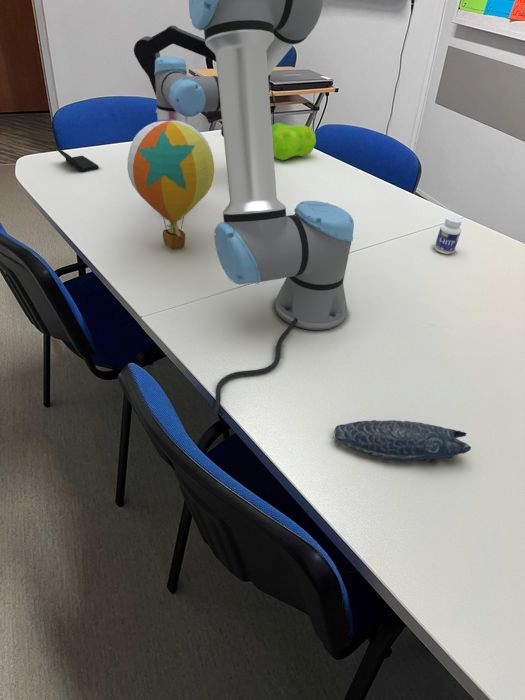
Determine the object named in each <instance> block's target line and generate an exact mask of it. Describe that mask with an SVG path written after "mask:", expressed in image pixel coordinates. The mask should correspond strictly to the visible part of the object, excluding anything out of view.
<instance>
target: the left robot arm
mask: <svg viewBox="0 0 525 700" xmlns="http://www.w3.org/2000/svg"><path fill="white" fill-rule="evenodd" d="M171 45H175V46H177V47H180V48H183V49H185V50H187V51H190V52H192V53H195V54H198V55H200V56H202V57H204V58H207V59H210V60H212V61H214V62H215V63H216V55H215V54H214V52H212V51H211V50H210V49H209V48H208V47H207V46H206V44H205V38H203V37H201V36H199V35H196V34H194V33H191V32H189V31H186V30H184V29H181V28H179V27H178V26H176V25H174V24H172V25H169V26H167V28H165V29H163V30H162V31H160V32H158V33H156V34H155V35H153V36H148V35H145V36H143V37H141V38H139V39H138V40H137V41H136V42H135V43H134V47H133V54H134V56H135V59H136V60H137V62H138V64H139V66H140V67H141V68H142V70H143V71H144V72H145V74H146V75H147V77H148V79H149V82H150V84H151V87H152V90H153V92H154V94H155V96H156V82H155V75H154V73H155V60H156V59H157V58H158V57H161V53H160V52H161V51H163V50H164V49H166V48H168V47H169V46H171ZM268 82H269V95H270V93H271V83H270V82H271V73H270V74H269V76H268ZM204 113H205V119H206V120H207V123H208V124H212V123H214V122H216V121H219V120H222V115H221V111H206V112H204ZM187 124H188V125H189V123H188V122H187ZM220 136H222V138H224V135H223V125H222V124H221V128H220Z"/></svg>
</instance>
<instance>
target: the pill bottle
mask: <svg viewBox="0 0 525 700" xmlns="http://www.w3.org/2000/svg"><path fill="white" fill-rule="evenodd" d="M462 222H463V219H461V218H460V217H458V216H455V215H448V216H446V218H445V220H444V223H443V224H442V225H440V228H439V231H438V234H437V237H436V240H435V243H434V250H435V251H437V252H439V253H441V254H447V255H449V254H453V253H454V252H455V250H456V247H457V244H458V242H459V239H460V236H461V233H462V229H461V225H462Z"/></svg>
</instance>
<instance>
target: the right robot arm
mask: <svg viewBox="0 0 525 700" xmlns="http://www.w3.org/2000/svg"><path fill="white" fill-rule="evenodd" d="M323 5H324V0H188V10H189V11H188V13H189V18H190V20H191V24H192V26H193V28H194V29H197V30H198V31H200V32H201V31H203V35H204V39H205V44H206V46H207V47H208V48H209V49H210V50H211V51H212V52H214V54H215V55H216V62H215V63H216V73H217V75H194V76H193V75H189V76H188V75H187V73H188V70H187V62H186V60H185V59H184V58H183V57H178V56H172V55H168V56H167V55H165V56H160V57H158V58H157V59H156V60H155V73H154V75H155V82H156V95H155V99H156V109H155V113H156V116H157V117H156V118H157V121H159V120H167V119H171V120H177V121H182V122H185V123H188V118H193V117H196V116H198V115H199V114H200V113H203V112H204V113H205V112H206V111H221V115H222V119H221V126H222V125H223V135H224V137H223V143H224V153H225V163H226V174H227V175H226V176H227V184H228V194H229V202H228V205H227V206H226V207H225V208H224V210H223V211H222V217H223V218H222V219H223V221H221V222H220V223H218V224H217V225H216V226H215V229H214V245H215V251H216V254H217V257H218V261H219V263H220V265H221V268H222V269H223V271H224V274H225V275H226V276H227V278H228V279H229V280H230V281H231V282H232V283H235V285H236V284H237V285H249V284H250V285H251V284H255V285H257V284H260V283H264V282H268V281H274V280H281V279H284V282H283V283H282V285H281V287H280V290H279V291H278V294H277V296H276V300H275V311H276V313H277V315H278V316H279V317H280V318H281V319H282V320H283V321H284V322H286V323H287V324H289V325H288V326H287V327H286V329H285V330H284V331H283V332H282V334H281V335H280V336H279V338H278V341H277V343H276V349H275V358H274V360H273V362H272V363H271V364H269V365H268V366H265V367H263V368H259V369H250V370H240V371H239V370H238V371H235V372H232V373H229V374H227V375H225V376H223V377H222V378H221V379H219V381H218V382H217V385H216V386H215V387H216V388H215V403H214V408H213V412H212V417H213V418H217V417H218V415H219V412H220V407H221V401H222V400H221V399H222V397H221V395H222V394H221V393H222V392H221V391H222V387H223V385H224V384H225V383H226V382H227V381H229V380H231V379H233V378H237V377H243V376H252V375H253V376H254V375H259V374H261V375H262V374H264V373H267V372H270V371H272V370H273V369H275V368H276V366H277V365H278V364H279V362H280V359H281V347H282V343H283V341H284V340H285V339H286V337H287V336H288V334H289V333H290V332H291V331H292V330H293V328H294V327H296V328H300V329H304V330H310V331H324V330H325V331H326V330H329V329H333V328H336V327H337V326H339V325H340V324H342V323H343V322H344V320H345V318H346V315H347V310H348V305H347V297H346V292H345V286H344V280H345V275H346V271H347V267H348V266H347V265H348V260H349V256H350V251H351V246H352V242H353V240H354V231H355V229H354V228H355V221H354V219H353V217H352V216H351V214H350V213H349V212H347V211H346V210H345V209H343V208H341V207H340V206H337V205H334V204H331V203H328V202H324V201H319V200H304V201H301V202H299V203H298V204H297V205H296V206H295V208H294V214H287V207H286V205H285V204H283V202H281V201H280V200H279V199H278V197H277V196H278V195H277V181H276V169H275V157H274V153H273V139H272V125H273V124H272V113H271V112H272V111H271V98H270V96H271V95H270V94H269V82H268V76H269V74H270V75H271V73H272V72H273V71H274V70H275V68H276V67H277V66H278V65H279V63H280V62H281V61H282V60H283V58H284V57H285V56H286V55H287V53H289V51H290V50H291V49H292V48H293V46H294V45H299V44H301V43H302V42H304V41H305V40H306V39H307V38H308V37H309V35H310V34H311V33H312V31H313V30H314V29H315V27H316V26H317V24H318V21H319V19H320V17H321V14H322V10H323V9H322V8H323Z"/></svg>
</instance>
